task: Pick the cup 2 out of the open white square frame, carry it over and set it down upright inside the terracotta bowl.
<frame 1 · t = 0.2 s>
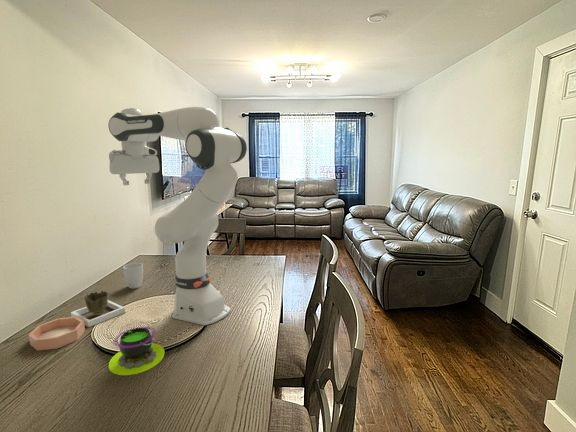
hand: (137, 184, 131), 47 cm above the table, fingers open, 8 cm apart
open white square frame: (98, 314, 118), on the table
toy cauldron: (137, 359, 93), on the table
bowl: (58, 337, 103), on the table
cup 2: (98, 315, 118), on the table
cup: (135, 286, 145), on the table
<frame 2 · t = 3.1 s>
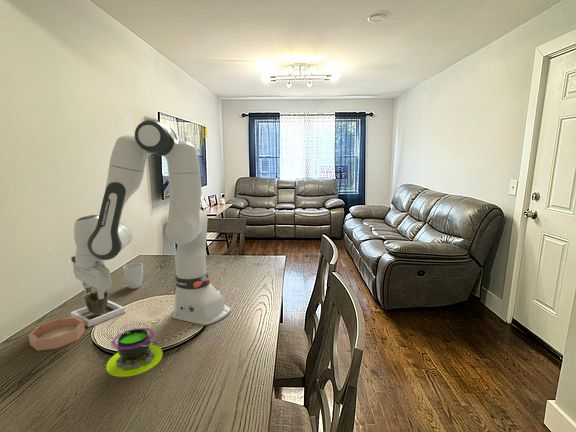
hand: (94, 295, 117), 8 cm above the table, fingers open, 8 cm apart
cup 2: (98, 315, 118), on the table, touching gripper
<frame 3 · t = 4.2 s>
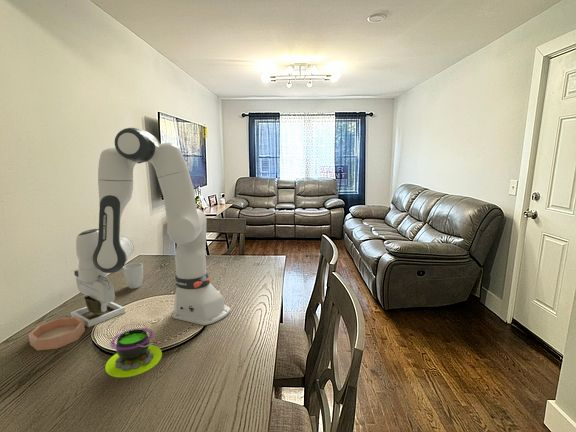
hand: (97, 308, 118), 3 cm above the table, fingers closed on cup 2, 7 cm apart
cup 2: (98, 315, 118), on the table, touching gripper
everything else where it was.
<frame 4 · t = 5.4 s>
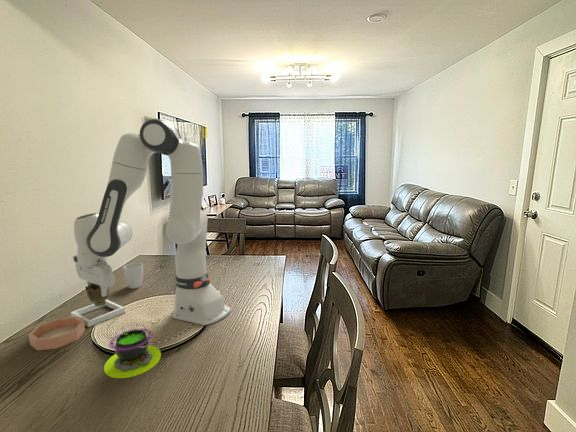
hand: (98, 293, 117), 8 cm above the table, fingers closed on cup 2, 6 cm apart
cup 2: (100, 305, 117), point 4 cm above the table, touching gripper
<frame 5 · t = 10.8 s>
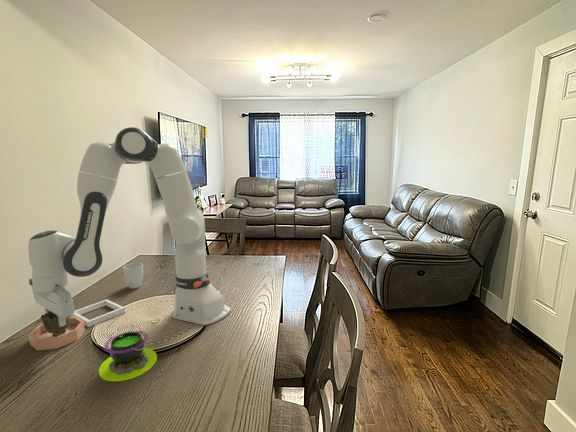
hand: (56, 322, 102), 5 cm above the table, fingers closed on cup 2, 6 cm apart
toy cauldron: (129, 364, 90), on the table
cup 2: (59, 335, 103), point 1 cm above the table, touching bowl, gripper
everything else where it was.
when the fingers open (5 cm above the table, at t = 11.0 s): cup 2 moves 2 cm, resting on bowl.
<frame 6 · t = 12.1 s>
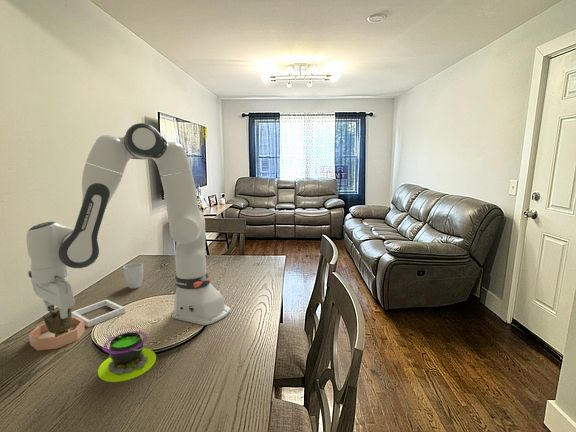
hand: (57, 313, 102), 8 cm above the table, fingers open, 8 cm apart
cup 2: (62, 336, 102), point 1 cm above the table, touching bowl, gripper
everything else where it was.
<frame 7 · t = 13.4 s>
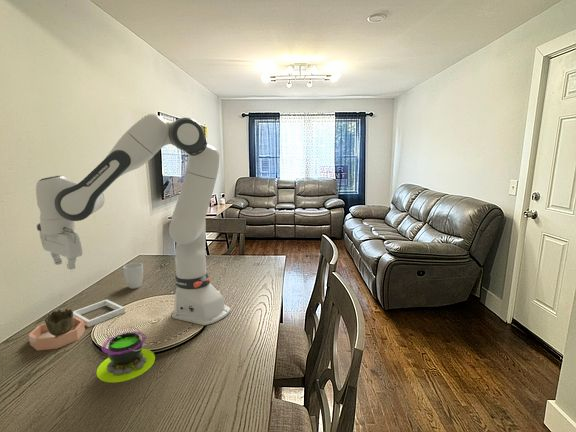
hand: (64, 266, 105), 22 cm above the table, fingers open, 8 cm apart
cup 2: (62, 337, 102), point 1 cm above the table, touching bowl
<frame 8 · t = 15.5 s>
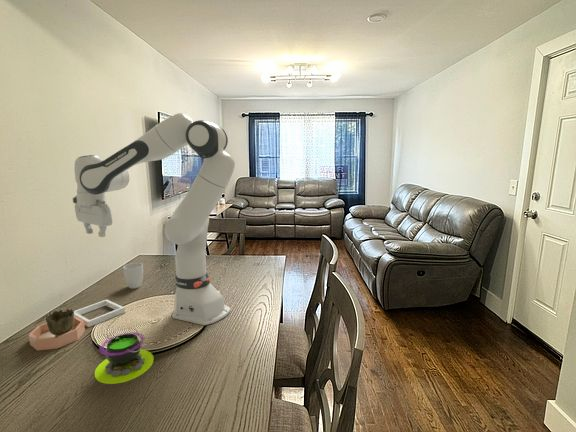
hand: (95, 235, 120), 29 cm above the table, fingers open, 8 cm apart
at the end: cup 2 inside the target area on the bowl (2.4 cm from its centre), point 0.6 cm above the bowl's base; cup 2 tilted 1°; the gripper is holding nothing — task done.
